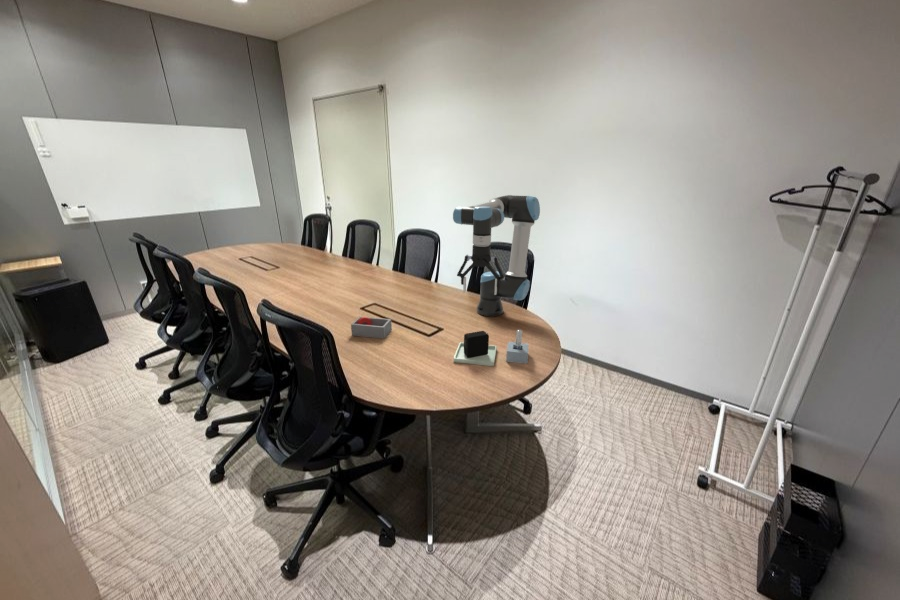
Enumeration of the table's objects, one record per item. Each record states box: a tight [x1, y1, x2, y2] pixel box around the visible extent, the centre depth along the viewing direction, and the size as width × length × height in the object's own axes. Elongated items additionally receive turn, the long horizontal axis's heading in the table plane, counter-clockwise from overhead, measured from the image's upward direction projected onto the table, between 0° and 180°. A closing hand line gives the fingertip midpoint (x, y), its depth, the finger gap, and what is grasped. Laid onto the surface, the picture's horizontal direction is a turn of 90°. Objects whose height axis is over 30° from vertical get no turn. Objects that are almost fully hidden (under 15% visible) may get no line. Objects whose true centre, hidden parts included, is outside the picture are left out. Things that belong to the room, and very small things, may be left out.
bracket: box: [357, 316, 371, 325], centre depth 182 cm, size 12×4×8 cm, turn 116°
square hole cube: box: [505, 341, 529, 364], centre depth 159 cm, size 9×9×5 cm
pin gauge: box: [515, 329, 523, 350], centre depth 157 cm, size 2×2×12 cm
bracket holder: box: [350, 316, 393, 340], centre depth 181 cm, size 10×17×6 cm, turn 78°
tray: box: [452, 341, 498, 367], centre depth 161 cm, size 15×17×2 cm
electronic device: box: [463, 330, 490, 358], centre depth 159 cm, size 4×10×10 cm, turn 111°
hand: (479, 292), depth 159 cm, fingers open, 13 cm apart
